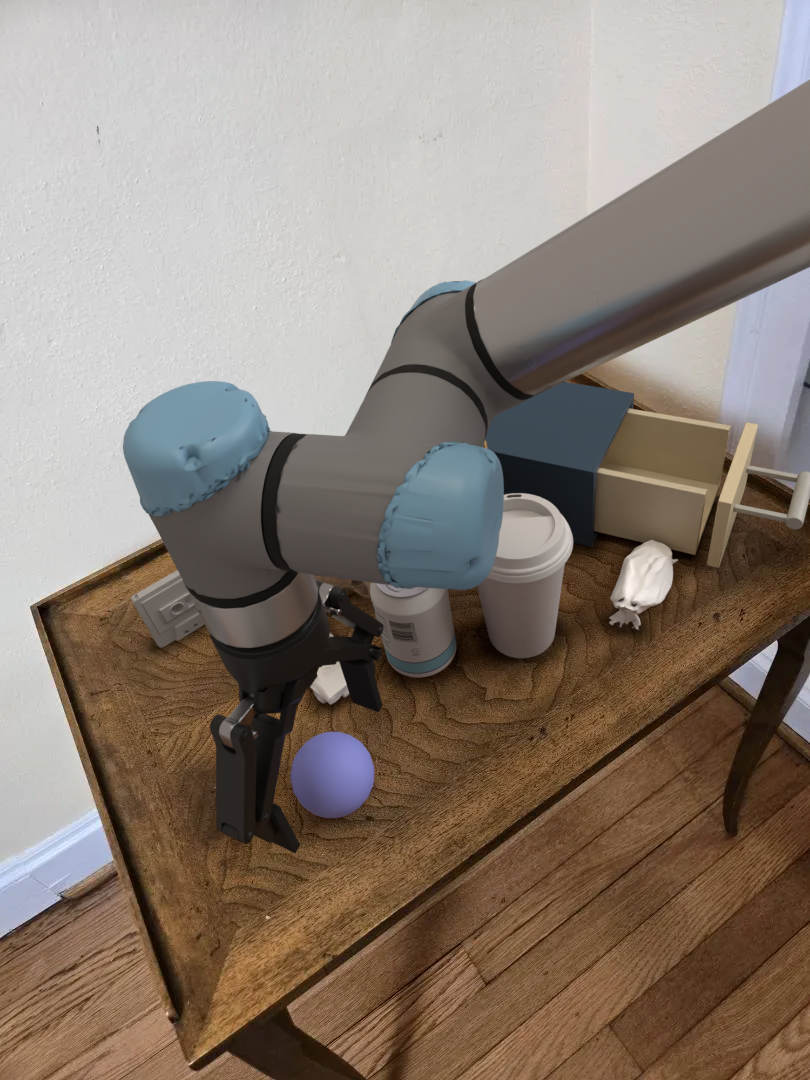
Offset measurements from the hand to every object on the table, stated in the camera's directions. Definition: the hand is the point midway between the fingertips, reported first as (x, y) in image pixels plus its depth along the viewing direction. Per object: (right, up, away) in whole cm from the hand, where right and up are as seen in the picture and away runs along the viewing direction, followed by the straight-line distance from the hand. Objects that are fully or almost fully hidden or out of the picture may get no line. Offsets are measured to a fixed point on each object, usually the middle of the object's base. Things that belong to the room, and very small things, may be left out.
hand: (328, 769), depth 67 cm
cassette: (-15, +11, +20) cm, 27 cm away
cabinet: (+22, +25, +26) cm, 42 cm away
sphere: (+1, -3, +3) cm, 4 cm away
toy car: (-2, +7, +13) cm, 15 cm away
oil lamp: (-1, +14, +21) cm, 25 cm away
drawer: (+36, +22, +19) cm, 46 cm away
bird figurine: (+30, +14, +14) cm, 36 cm away
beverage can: (+8, +8, +12) cm, 17 cm away
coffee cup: (+18, +10, +12) cm, 24 cm away
